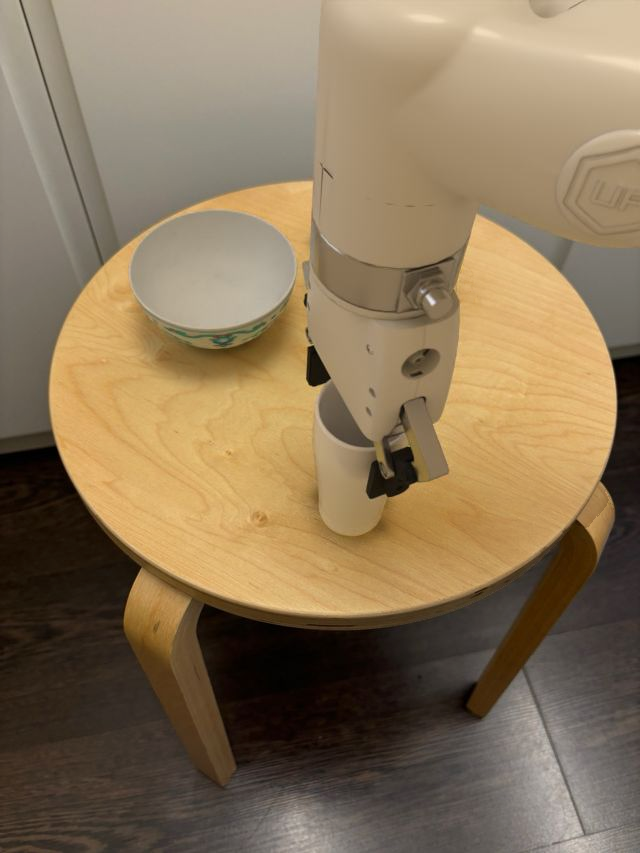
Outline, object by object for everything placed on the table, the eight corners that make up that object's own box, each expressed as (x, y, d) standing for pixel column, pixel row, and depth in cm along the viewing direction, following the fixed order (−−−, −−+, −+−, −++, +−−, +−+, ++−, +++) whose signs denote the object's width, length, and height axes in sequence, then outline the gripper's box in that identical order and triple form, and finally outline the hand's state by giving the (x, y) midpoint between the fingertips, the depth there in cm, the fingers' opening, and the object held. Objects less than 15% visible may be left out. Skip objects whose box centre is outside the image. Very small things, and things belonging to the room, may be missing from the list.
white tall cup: (300, 536, 57) (302, 438, 45) (320, 466, 61) (326, 357, 48) (382, 556, 56) (407, 462, 44) (397, 484, 60) (424, 378, 48)
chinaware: (122, 297, 71) (105, 238, 64) (257, 250, 75) (253, 191, 68) (178, 406, 64) (165, 353, 57) (323, 348, 68) (326, 292, 61)
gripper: (551, 348, 31) (466, 516, 45) (377, 124, 39) (352, 326, 54) (401, 401, 29) (362, 559, 43) (251, 154, 37) (260, 355, 52)
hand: (356, 430), depth 49 cm, fingers open, 9 cm apart
